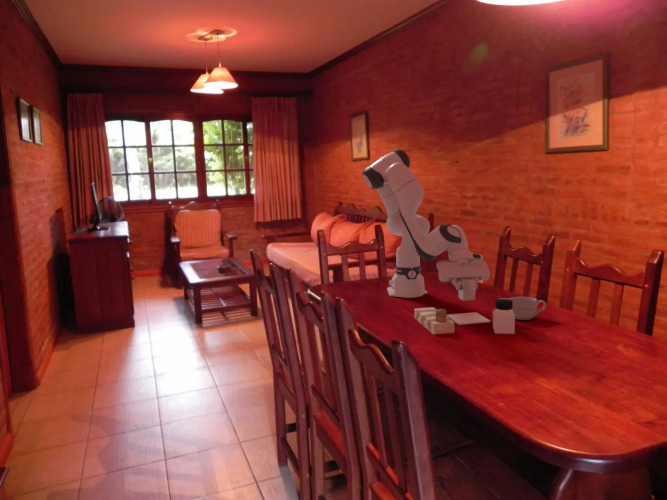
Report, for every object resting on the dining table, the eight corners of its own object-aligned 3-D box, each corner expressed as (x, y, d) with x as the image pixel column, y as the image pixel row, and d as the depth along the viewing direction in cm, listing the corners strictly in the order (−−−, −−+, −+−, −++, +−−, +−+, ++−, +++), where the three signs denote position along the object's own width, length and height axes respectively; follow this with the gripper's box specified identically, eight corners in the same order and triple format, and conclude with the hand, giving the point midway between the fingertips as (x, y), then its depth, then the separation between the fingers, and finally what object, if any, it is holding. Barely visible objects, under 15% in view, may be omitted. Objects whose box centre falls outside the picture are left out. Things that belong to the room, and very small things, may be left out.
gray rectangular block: (458, 297, 214) (458, 278, 213) (470, 296, 215) (470, 277, 214) (463, 300, 209) (463, 280, 208) (475, 299, 210) (475, 279, 209)
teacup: (505, 320, 210) (506, 300, 209) (510, 313, 220) (511, 294, 218) (543, 324, 204) (544, 303, 202) (546, 316, 213) (547, 297, 212)
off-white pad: (446, 315, 219) (446, 314, 219) (476, 313, 221) (476, 312, 221) (459, 324, 206) (459, 323, 206) (490, 322, 209) (490, 320, 209)
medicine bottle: (515, 334, 193) (515, 302, 191) (494, 333, 195) (494, 301, 193) (512, 328, 200) (513, 297, 198) (492, 327, 201) (493, 296, 200)
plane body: (414, 318, 217) (414, 299, 216) (433, 316, 219) (433, 297, 217) (433, 334, 196) (433, 313, 195) (454, 332, 197) (454, 311, 196)
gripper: (436, 256, 216) (442, 285, 208) (486, 255, 217) (494, 283, 209) (434, 265, 221) (439, 294, 213) (483, 263, 222) (490, 292, 214)
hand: (467, 288), depth 211 cm, fingers closed on gray rectangular block, 5 cm apart
